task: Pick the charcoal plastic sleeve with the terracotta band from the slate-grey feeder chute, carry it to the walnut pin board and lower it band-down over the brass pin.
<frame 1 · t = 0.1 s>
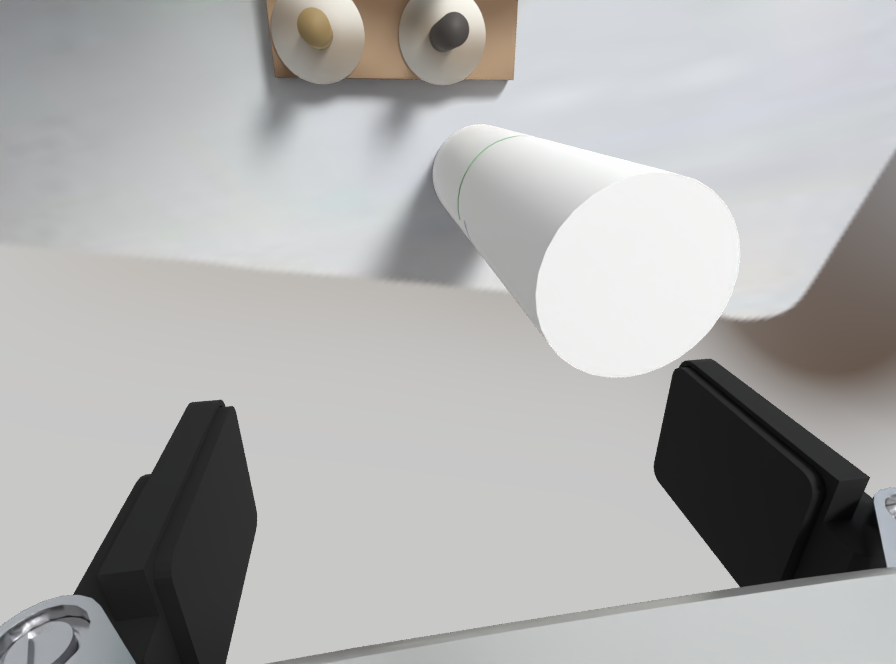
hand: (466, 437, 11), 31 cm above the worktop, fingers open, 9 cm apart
cylindrical container: (478, 173, 40), on the worktop
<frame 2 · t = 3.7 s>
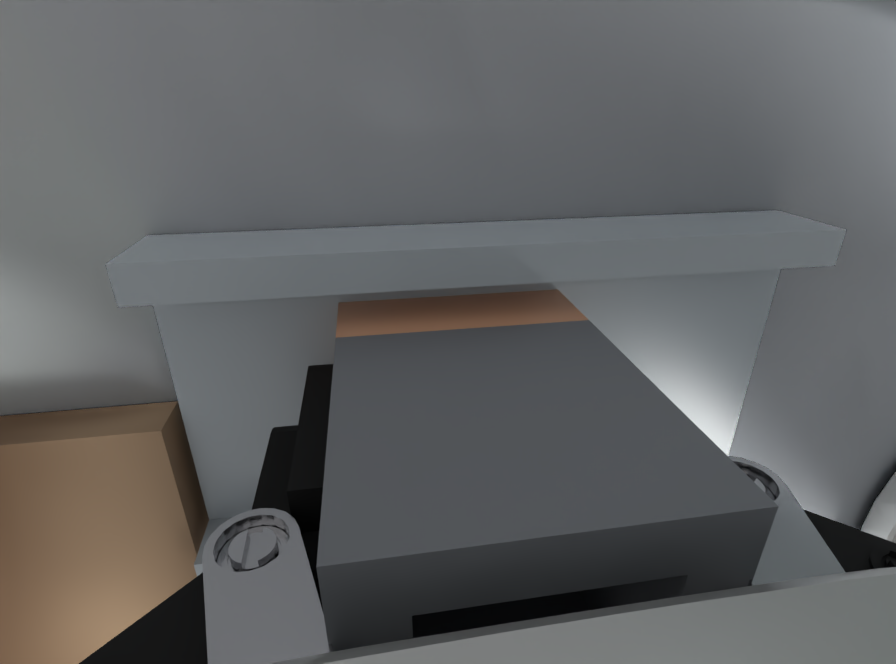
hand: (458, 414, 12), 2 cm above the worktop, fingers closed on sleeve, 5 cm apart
sleeve: (451, 390, 13), point 1 cm above the worktop, touching feeder chute, gripper
feeder chute: (485, 375, 13), on the worktop
pin board: (56, 651, 15), on the worktop
when the fingers open (3 cm above the worktop, at t = 8.3 s): sleeve drops 1 cm, resting on pin board.
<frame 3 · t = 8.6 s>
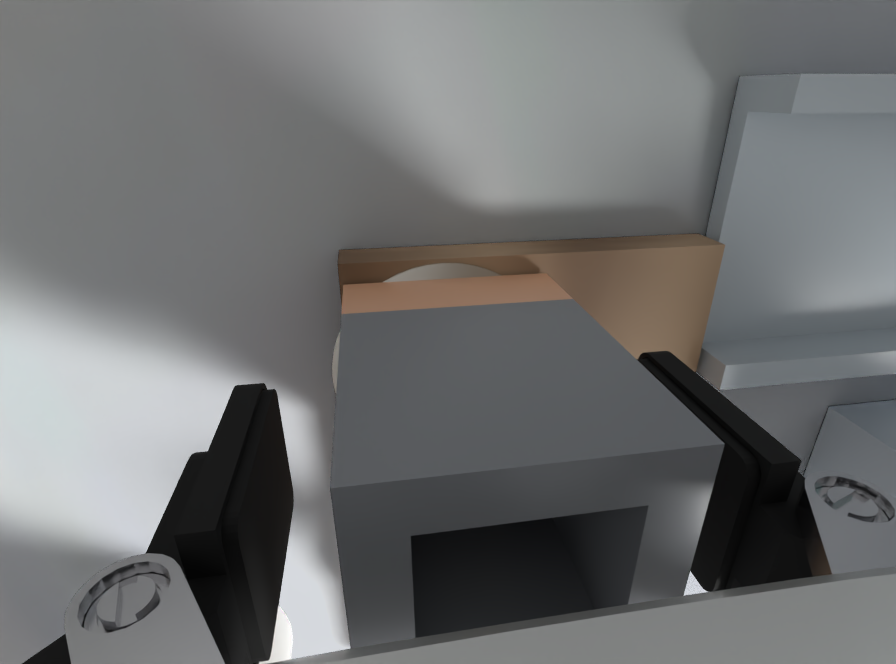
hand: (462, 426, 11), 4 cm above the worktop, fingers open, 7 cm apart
sleeve: (447, 368, 14), point 1 cm above the worktop, touching pin board
gray rectangular block: (870, 445, 20), on the worktop
cylindrical container: (189, 639, 18), on the worktop
pin board: (512, 475, 17), on the worktop
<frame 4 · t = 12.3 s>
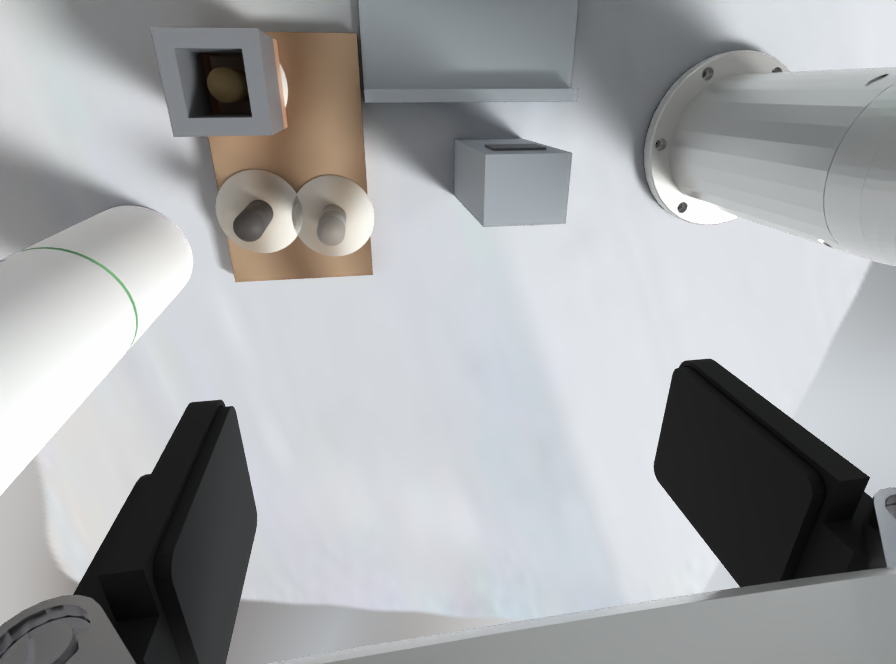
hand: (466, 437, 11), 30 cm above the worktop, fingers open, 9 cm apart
sleeve: (241, 85, 33), point 1 cm above the worktop, touching pin board
gray rectangular block: (487, 167, 39), on the worktop
feeder chute: (469, 36, 35), on the worktop
cylindrical container: (140, 254, 37), on the worktop
pin board: (293, 164, 36), on the worktop
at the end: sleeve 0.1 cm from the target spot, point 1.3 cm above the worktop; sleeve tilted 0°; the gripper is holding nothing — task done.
